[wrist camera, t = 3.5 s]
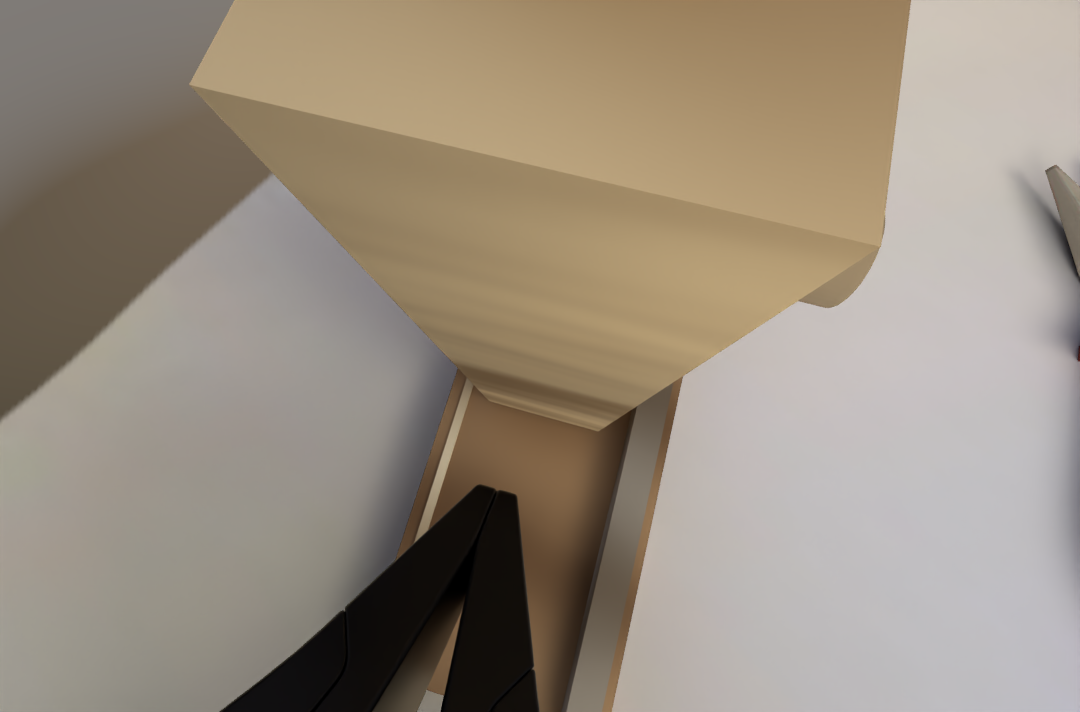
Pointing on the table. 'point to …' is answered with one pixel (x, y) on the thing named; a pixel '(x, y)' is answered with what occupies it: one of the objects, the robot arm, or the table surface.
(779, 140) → the beige boxy piece
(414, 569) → the robot arm
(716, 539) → the table surface
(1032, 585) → the table surface
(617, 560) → the board
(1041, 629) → the table surface
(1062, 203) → the pliers
